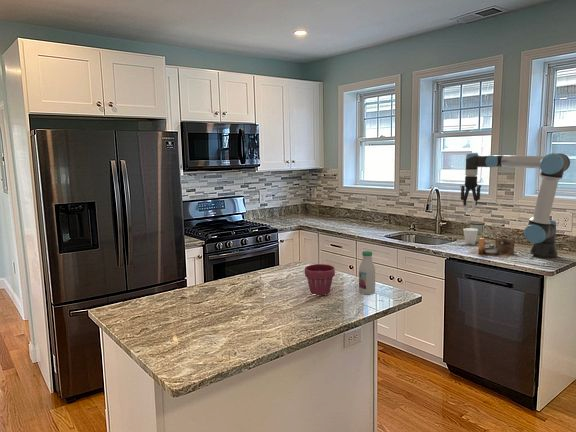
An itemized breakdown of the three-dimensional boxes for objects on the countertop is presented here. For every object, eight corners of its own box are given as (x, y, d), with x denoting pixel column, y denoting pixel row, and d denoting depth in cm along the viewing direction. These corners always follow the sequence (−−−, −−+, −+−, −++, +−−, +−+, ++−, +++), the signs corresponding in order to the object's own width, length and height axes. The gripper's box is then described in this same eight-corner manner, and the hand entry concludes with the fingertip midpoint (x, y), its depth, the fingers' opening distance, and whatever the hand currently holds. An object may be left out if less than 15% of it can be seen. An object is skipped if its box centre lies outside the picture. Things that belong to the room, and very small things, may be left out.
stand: (513, 255, 283) (514, 239, 281) (506, 260, 270) (507, 243, 268) (475, 250, 298) (475, 235, 297) (466, 254, 285) (467, 239, 284)
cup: (461, 245, 315) (462, 230, 313) (463, 242, 324) (464, 227, 322) (476, 246, 310) (477, 230, 309) (478, 243, 319) (478, 228, 317)
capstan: (500, 252, 284) (501, 237, 283) (495, 256, 275) (496, 240, 274) (483, 250, 291) (483, 235, 290) (477, 253, 282) (478, 238, 281)
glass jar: (467, 240, 333) (467, 221, 331) (481, 240, 332) (482, 221, 330) (471, 242, 323) (472, 223, 321) (486, 242, 322) (486, 223, 320)
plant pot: (299, 295, 210) (299, 268, 208) (314, 287, 222) (314, 262, 220) (325, 300, 202) (325, 272, 200) (339, 291, 214) (339, 266, 212)
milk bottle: (373, 289, 216) (373, 249, 213) (376, 294, 208) (377, 253, 206) (357, 290, 216) (357, 250, 213) (360, 295, 208) (360, 253, 205)
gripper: (481, 175, 300) (479, 209, 303) (455, 175, 298) (454, 210, 302) (487, 175, 292) (485, 210, 296) (460, 176, 291) (459, 211, 294)
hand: (469, 210), depth 299 cm, fingers open, 5 cm apart
